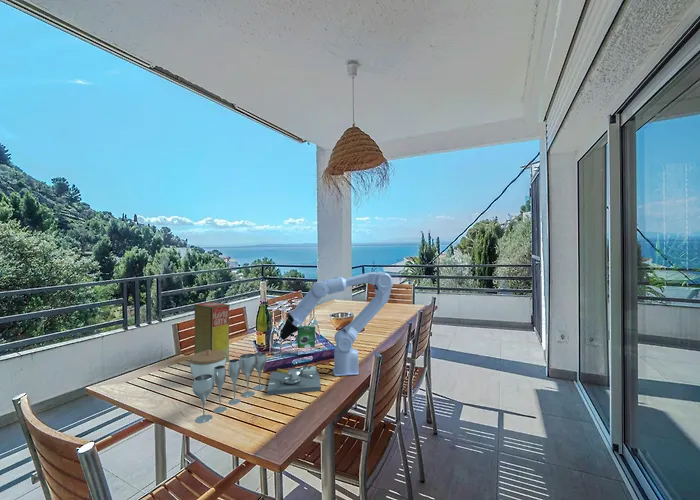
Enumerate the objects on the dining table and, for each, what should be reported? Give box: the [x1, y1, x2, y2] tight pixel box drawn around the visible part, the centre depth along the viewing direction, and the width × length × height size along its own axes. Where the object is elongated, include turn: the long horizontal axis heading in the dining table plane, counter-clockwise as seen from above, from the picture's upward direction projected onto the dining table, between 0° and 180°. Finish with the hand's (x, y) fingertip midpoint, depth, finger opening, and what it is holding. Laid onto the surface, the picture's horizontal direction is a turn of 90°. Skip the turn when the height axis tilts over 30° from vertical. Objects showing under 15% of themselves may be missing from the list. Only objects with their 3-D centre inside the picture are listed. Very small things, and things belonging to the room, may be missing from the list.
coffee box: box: [296, 324, 316, 348], centre depth 145 cm, size 8×3×13 cm, turn 110°
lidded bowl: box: [189, 350, 227, 379], centre depth 118 cm, size 13×13×11 cm
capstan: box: [276, 364, 313, 384], centre depth 111 cm, size 15×15×4 cm
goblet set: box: [191, 351, 267, 424], centre depth 100 cm, size 28×6×13 cm, turn 153°
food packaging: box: [193, 301, 230, 363], centre depth 137 cm, size 13×9×25 cm
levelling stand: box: [266, 365, 322, 396], centre depth 114 cm, size 18×16×4 cm
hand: (282, 335), depth 121 cm, fingers open, 7 cm apart
